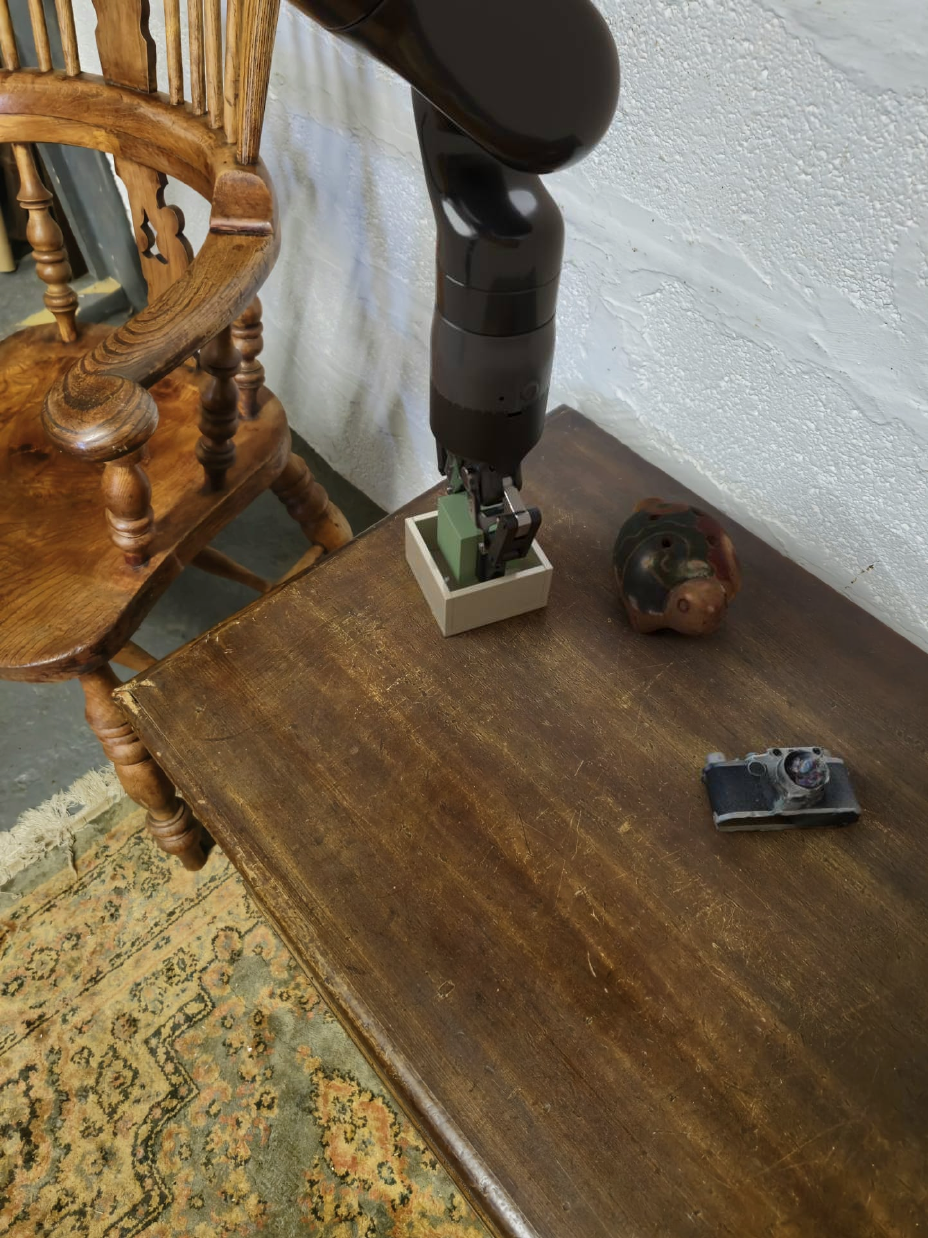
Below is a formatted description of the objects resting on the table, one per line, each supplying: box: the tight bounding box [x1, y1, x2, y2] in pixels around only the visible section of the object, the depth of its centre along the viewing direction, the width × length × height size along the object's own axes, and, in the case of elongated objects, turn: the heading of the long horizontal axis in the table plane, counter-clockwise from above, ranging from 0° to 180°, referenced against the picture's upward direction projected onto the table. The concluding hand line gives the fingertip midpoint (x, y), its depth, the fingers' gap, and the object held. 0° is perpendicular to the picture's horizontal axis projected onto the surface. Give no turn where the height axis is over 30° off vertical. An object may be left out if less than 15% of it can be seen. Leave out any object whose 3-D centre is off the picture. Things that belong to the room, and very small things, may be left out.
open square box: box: [404, 509, 554, 638], centre depth 66 cm, size 9×9×5 cm
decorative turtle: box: [611, 496, 742, 636], centre depth 65 cm, size 10×15×8 cm, turn 12°
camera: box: [699, 746, 863, 833], centre depth 56 cm, size 5×10×4 cm, turn 93°
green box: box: [437, 491, 519, 584], centre depth 64 cm, size 5×4×5 cm
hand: (476, 552), depth 66 cm, fingers closed on green box, 4 cm apart
